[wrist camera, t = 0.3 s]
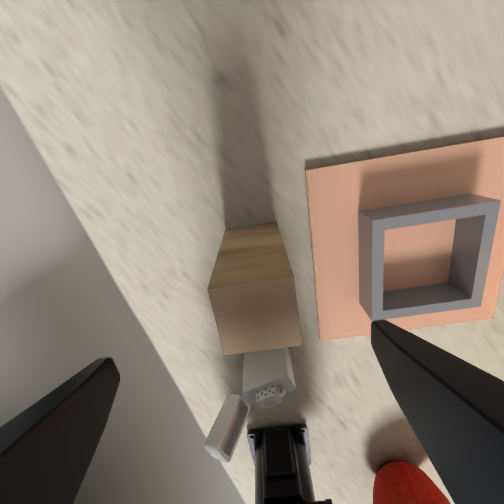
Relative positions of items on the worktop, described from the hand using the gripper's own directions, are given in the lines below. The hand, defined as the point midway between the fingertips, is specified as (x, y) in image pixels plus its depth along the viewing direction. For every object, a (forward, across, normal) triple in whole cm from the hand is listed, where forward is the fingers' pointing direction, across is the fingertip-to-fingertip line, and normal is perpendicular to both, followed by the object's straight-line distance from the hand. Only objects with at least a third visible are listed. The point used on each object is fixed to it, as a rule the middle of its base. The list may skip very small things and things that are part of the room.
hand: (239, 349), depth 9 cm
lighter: (+13, +2, +12) cm, 18 cm away
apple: (+13, -12, +32) cm, 37 cm away
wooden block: (+13, 0, +1) cm, 13 cm away
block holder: (+13, -12, +3) cm, 18 cm away
